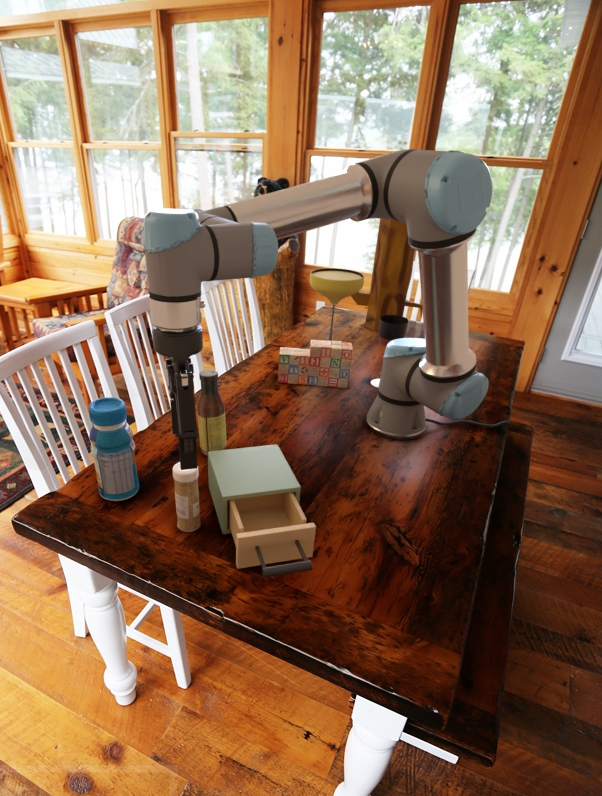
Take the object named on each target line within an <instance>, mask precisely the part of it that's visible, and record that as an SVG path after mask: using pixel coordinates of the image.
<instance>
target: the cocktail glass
mask: <svg viewBox="0 0 602 796" xmlns="http://www.w3.org/2000/svg"><path fill="white" fill-rule="evenodd" d="M364 284H365V275H364V274H363V273H361V272H359V271H356V270H352V269H345V268H318V269H313V270H312V271H311V272H310V275H309V285H310V286H311V288H312V289H313V290H314V291H315V292H316V293H318V294H320V295H321V296H323V297H325V298H326V299H327V300H328V301H329V303H330V304H331V306H332V311H331V320H330V328H329V335H328V340H327V341H333V326H334V317H335V316H334V315H335V308H336V306H337V305H338V304H339V303H340V302H341V301H342V300H343V299H345V298H348V297H351V295H353V294H355V293H357V292H358V291H362V289H363V287H364Z"/></svg>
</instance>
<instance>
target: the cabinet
mask: <svg viewBox="0 0 602 796" xmlns="http://www.w3.org/2000/svg"><path fill="white" fill-rule="evenodd" d="M279 446H280V445H278V444H277V443H276V444H269V445H268V444H267V445H259V446H247V447H240V448H238V447H237V448H229V449H226V450H219V451H209V452H208V456H207V473H208V475H207V477H208V489H209V492H210V496H211V499H212V502H213V506H214V508H215V512H216V516H217V519H218V523H219V526H220V530H221V533H222V535H228V534H232V533H231V530H230V526H229V523H228V520H227V500H233V499H241V498H249V497H257V496H264V495H272V494H280V493H288V492H293V494H294V496H295V498H296V500H297V502H298V503H299V504H300V499H301V491H302V490H301V489H302V487H301V485H300V483H299V481H298V479H297V478H296V476H295V473H294V472H293V470H292V468H291V466H290V465H289V463H288V461H287V460H286V459H287V458H285V456H284V454H283V451H282V450H281V448H280V447H279Z"/></svg>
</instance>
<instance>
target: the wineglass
mask: <svg viewBox="0 0 602 796" xmlns="http://www.w3.org/2000/svg"><path fill="white" fill-rule="evenodd" d="M408 325H409V319H408V318H407V317H405V316H403V317H402V316H398V315H384V316H382V317H380V323H379V331H378V339H379V342H380V344H381V345H382V346H383V347H385V348H386V346H387V344H388V343H389V342H390V341H392V340H395V339H400V338H405V336H406V334H407V333H406V332H407V329H408ZM379 382H380V378H374V379H372V380H371V381H370V384H371V386H373V387H375V388H377V389H379Z"/></svg>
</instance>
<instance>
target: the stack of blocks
mask: <svg viewBox="0 0 602 796" xmlns="http://www.w3.org/2000/svg"><path fill="white" fill-rule="evenodd" d="M278 354H279V355H278V370H277V383H281V384H289V385H291V384H292V385H304V386H307V385H308V386H318V387H327V388H328V387H329V388H338V389H339V388H340V389H348V387H349V378H350V373H351V369H352V368H351V367H352V361H353V359H352V358H353V343H352V342H347V341H341V340H332V341H328V340H324V339H310V344H309V348H300V347H299V348H298V347H286V346H285V347H284V346H283V347H282V346H280V347H279V353H278Z"/></svg>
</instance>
